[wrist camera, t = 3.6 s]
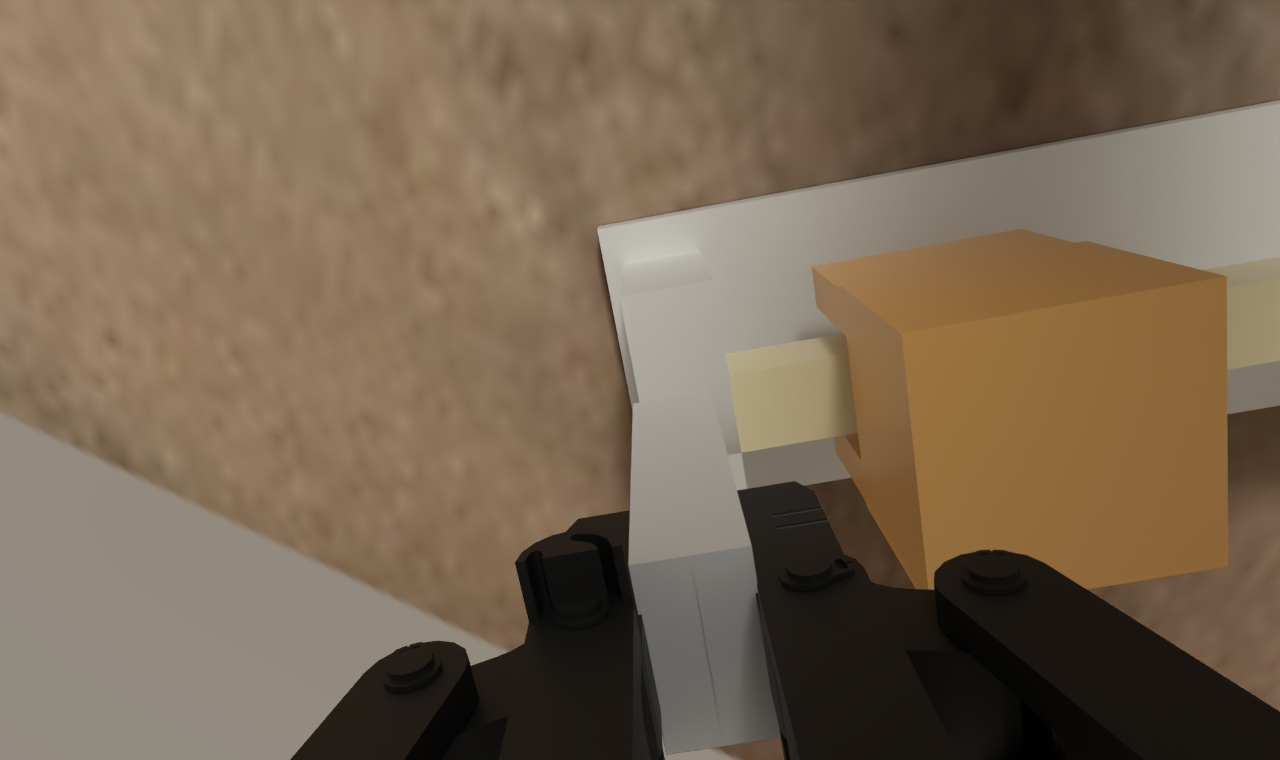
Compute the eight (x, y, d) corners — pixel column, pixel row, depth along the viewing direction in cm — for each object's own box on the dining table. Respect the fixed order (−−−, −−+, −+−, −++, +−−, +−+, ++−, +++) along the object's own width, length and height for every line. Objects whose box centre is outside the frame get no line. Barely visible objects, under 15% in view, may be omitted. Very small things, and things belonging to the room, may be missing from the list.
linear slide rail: (598, 226, 24) (583, 263, 17) (1734, 15, 22) (2187, -31, 16) (651, 499, 26) (655, 625, 19) (1692, 323, 25) (2076, 394, 18)
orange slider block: (810, 262, 21) (901, 333, 14) (1021, 224, 21) (1226, 276, 14) (836, 455, 23) (931, 614, 15) (1034, 422, 22) (1228, 566, 15)
